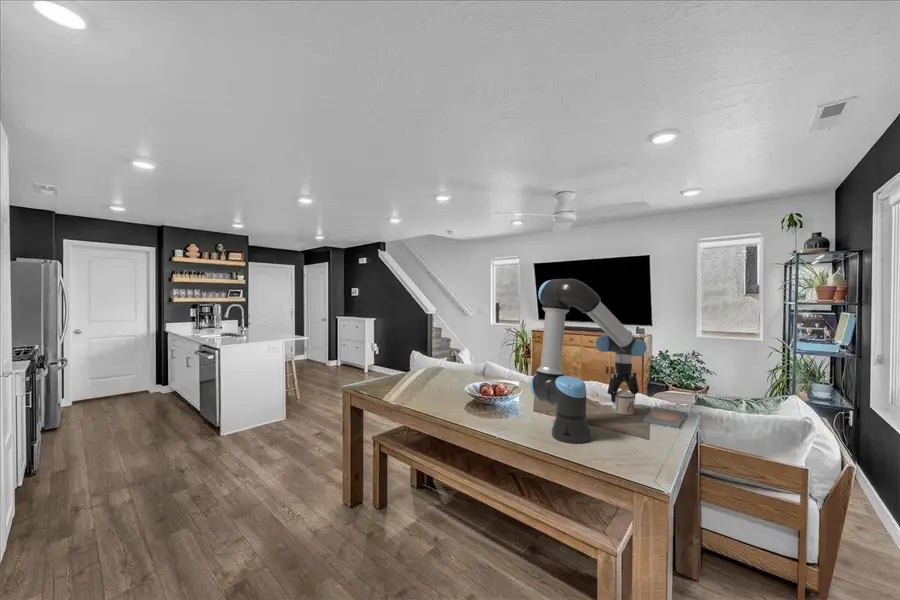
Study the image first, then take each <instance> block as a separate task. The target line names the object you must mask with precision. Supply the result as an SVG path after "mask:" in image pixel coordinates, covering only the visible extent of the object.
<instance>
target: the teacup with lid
mask: <svg viewBox="0 0 900 600" xmlns="http://www.w3.org/2000/svg"><path fill="white" fill-rule="evenodd" d="M616 396H617V409H614V408H613V412H615V414H618V415H623V416H631V415H634V413H635V411H634V410H635V400H634V394H632V393H631V392H630V391H628V390H627V389H626V388H624V387H623V388H621V390H620V389H619V390H618V392H617V394H616Z"/></svg>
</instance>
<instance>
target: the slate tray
mask: <svg viewBox="0 0 900 600" xmlns="http://www.w3.org/2000/svg"><path fill="white" fill-rule="evenodd" d="M686 415H687V416H688V412H685V411H681V410H679V411H678V410H673V409H669V408H667V409H666V408H662V407H656V406H655V407H653V408H652V409H651V410H650V411H649V413H648V414H647V415H646V416H645V417H644V418H643V419H642V423H646V424H652V425H657V426H662V425H663V426H662V427H667V426H669V427H668V428H672V427H673V428H674V429H677V428H678V430H679V429H680V428H681V426H682V424H683V422H684V421H683V420H685V419H686V417H687V416H686ZM684 418H685V419H684ZM679 427H680V428H679ZM673 428H672V429H673Z"/></svg>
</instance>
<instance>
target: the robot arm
mask: <svg viewBox="0 0 900 600" xmlns="http://www.w3.org/2000/svg"><path fill="white" fill-rule="evenodd" d="M537 296H538V300H539V301H540V303H541V304H542V307H541V309H542V310H543V311H544V313H545V314H544V323H543V324H544V325H543V337H542V348H541V355H540V356H541V357H540V358H541V360H540V366H539V367H537V369H536V373H535V374H534V375H533V377H531V378H530V382H529V389H530V391H531V393H532V395H533V396H534V397H535V398H536V399H538V400H539V401H541V402H545V403H547V404H550V405H553V406H555V418H554V421H553V425H552V427H551V436H552V438H554V439H555V440H558V441H560V442H564V443H568V444H584V443H587V442H589V441H590V440H591V438H592V436H591V430H590V427H589V424H588V421H587V388H586V387H587V386H586V384H585V383H586V382H584V381H583V380H582V379H580V378H578V377H574V376H570V375H569V376H568V375H565V372H564V371H563V370H562V368H561V367H562V357H563V355H562V354H563V347H564V346H563V345H564V337H565V336H564V334H565V323H566V315H567V314H568V313H569V312H570V309H571V308H570V307H573V308H576V309H577V310H579V311H580V312H581V313H583V314H586V315H587V316H588V317H589V318H590V319H591V320H592V321H593V322H594V323H595V324H596V325H597V326H599V328H600V330H602V331H603V332H604V333H606V335H605V334H604V335H600V336H598V337H597V338H596V339H595V347H596V349H597V350H598V351H599V352H601V353H608V352H609V353H615V356H614V357H615V358H614V360H615V362H614V369H615V373H610V376H609V377H610V379H609V384H608V390H607V394H608V395H610V401H611V408H612V409H613V410H614V409H617V396H616V394H617V392H618V391H619V390H620V387H621V385H622V384H623V382H625V383H626V385H627V388H628V390H629V392H630V393H632V394H634V401H635V400H636V395H637V394H638V392H639V391H640V389H639V386H638V385H639V384H638V381H637V380H638V379H637V373H636V372H634V371H633V357H642V356H644V355H645V354H646V352H647V349H648V348H647V347H648V345H647V342H646V341H645V340H643V339H642V338H641V339H640V338H636V337H635V336H634V335H633V332H632V331H631V330H628V329H627V328H626V327H625V326H624V324H622V322H621V321H620V320H619V319H618V318H617V317H616V316H615V315H614V314H613V313H612V312H611V310H609V308H607V306H606V305H604V304H603V302H601V296H599V294H598V293H597V292H596V291H595V290H593V289H592V288H591V287H590V286H589V285H587V284H586V283H584V282H583V281H581V280H578V279H575V278H555V279H554V278H553V279H550V280H546V281H544V282H543V283H542V284H541V285H540V287H539V289H538V295H537Z"/></svg>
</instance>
